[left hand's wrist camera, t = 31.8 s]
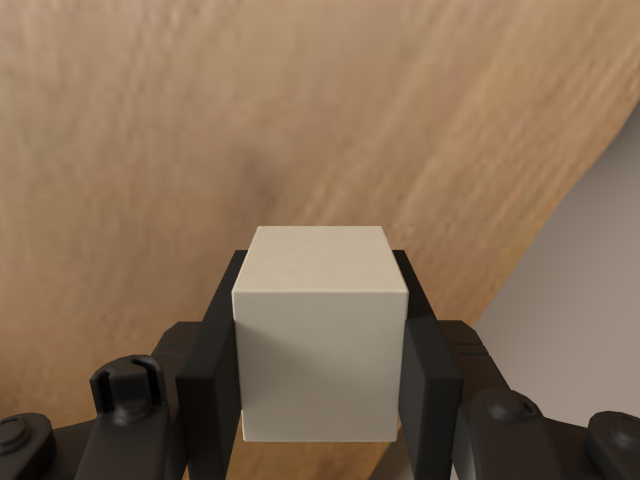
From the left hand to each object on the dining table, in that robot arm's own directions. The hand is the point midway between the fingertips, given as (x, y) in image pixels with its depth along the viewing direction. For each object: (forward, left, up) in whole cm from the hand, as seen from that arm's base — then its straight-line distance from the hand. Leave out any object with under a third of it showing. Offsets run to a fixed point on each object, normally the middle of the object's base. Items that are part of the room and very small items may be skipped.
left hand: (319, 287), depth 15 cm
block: (0, 0, 0) cm, 0 cm away
